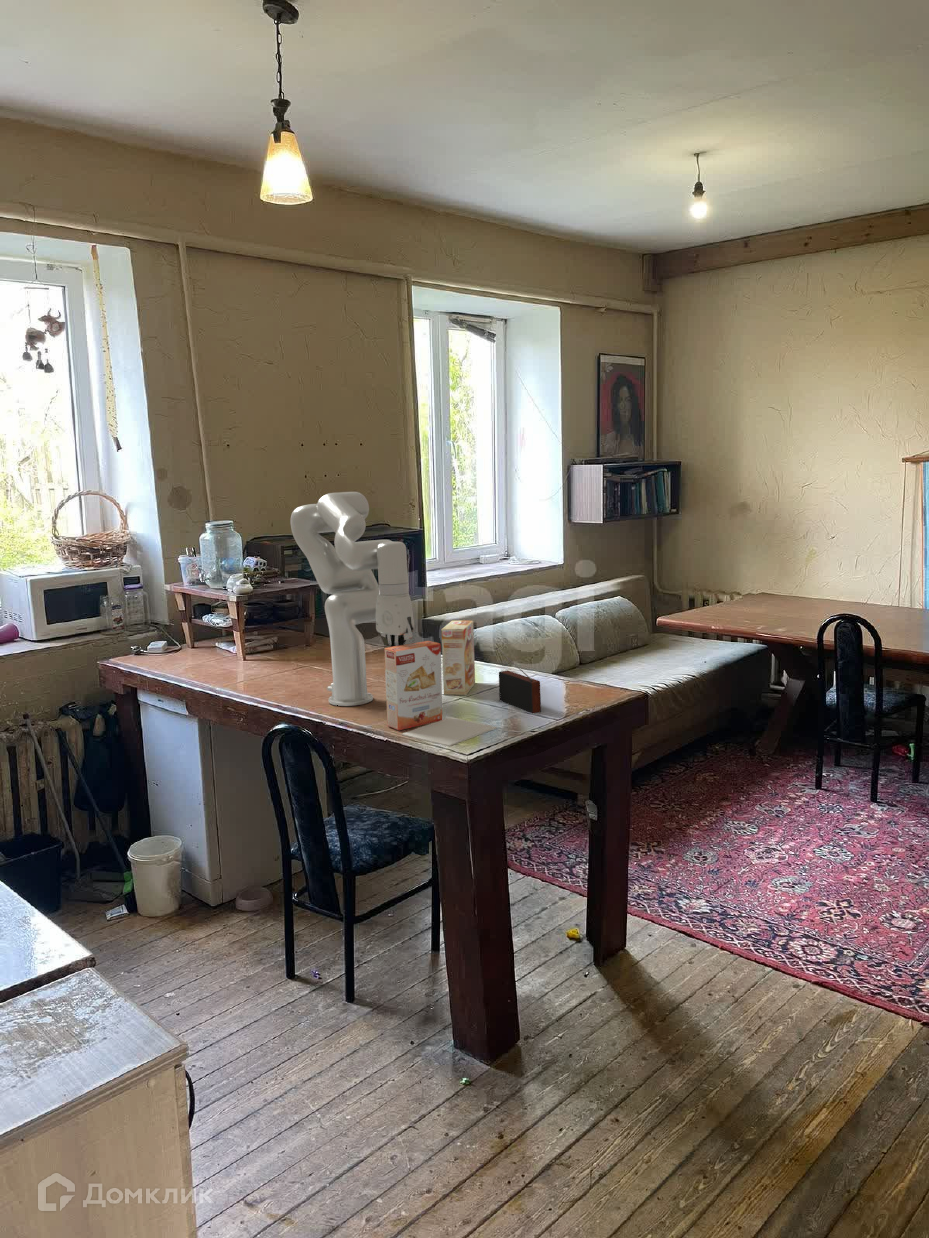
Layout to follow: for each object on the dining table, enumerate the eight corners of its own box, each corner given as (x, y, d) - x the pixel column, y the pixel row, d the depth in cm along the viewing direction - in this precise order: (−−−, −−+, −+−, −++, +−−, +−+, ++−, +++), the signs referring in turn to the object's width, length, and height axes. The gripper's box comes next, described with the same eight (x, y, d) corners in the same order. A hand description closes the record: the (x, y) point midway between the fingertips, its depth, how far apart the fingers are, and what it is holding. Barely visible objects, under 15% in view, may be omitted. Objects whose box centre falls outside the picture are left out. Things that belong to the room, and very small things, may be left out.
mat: (401, 734, 228) (401, 733, 228) (450, 718, 241) (450, 717, 241) (449, 746, 217) (449, 745, 217) (497, 728, 230) (497, 726, 230)
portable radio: (542, 712, 244) (540, 657, 241) (532, 714, 242) (531, 658, 240) (505, 697, 260) (503, 646, 257) (495, 699, 258) (494, 647, 256)
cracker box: (399, 731, 230) (395, 650, 227) (386, 726, 235) (382, 647, 231) (444, 720, 239) (441, 642, 235) (431, 716, 243) (428, 639, 240)
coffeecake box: (466, 695, 264) (464, 629, 260) (442, 695, 265) (439, 629, 262) (476, 682, 278) (474, 619, 275) (453, 682, 280) (451, 619, 276)
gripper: (363, 590, 237) (367, 659, 240) (403, 593, 227) (407, 665, 230) (384, 586, 242) (388, 654, 245) (424, 589, 232) (428, 660, 235)
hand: (397, 659), depth 238 cm, fingers closed
